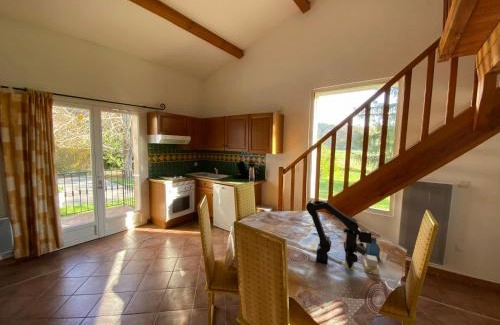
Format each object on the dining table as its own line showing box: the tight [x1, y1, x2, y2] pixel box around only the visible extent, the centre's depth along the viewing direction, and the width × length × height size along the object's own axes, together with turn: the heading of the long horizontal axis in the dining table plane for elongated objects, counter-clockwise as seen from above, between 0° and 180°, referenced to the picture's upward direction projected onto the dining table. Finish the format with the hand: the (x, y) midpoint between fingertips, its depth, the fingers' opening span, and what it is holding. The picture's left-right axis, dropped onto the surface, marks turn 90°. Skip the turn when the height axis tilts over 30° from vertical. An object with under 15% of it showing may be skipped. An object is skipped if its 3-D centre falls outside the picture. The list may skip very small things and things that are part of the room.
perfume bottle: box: [365, 236, 381, 259], centre depth 142 cm, size 6×6×12 cm
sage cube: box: [344, 258, 355, 271], centre depth 129 cm, size 4×4×4 cm
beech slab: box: [362, 259, 380, 275], centre depth 126 cm, size 7×7×4 cm
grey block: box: [365, 254, 379, 267], centre depth 126 cm, size 5×5×4 cm
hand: (349, 264), depth 129 cm, fingers open, 9 cm apart
